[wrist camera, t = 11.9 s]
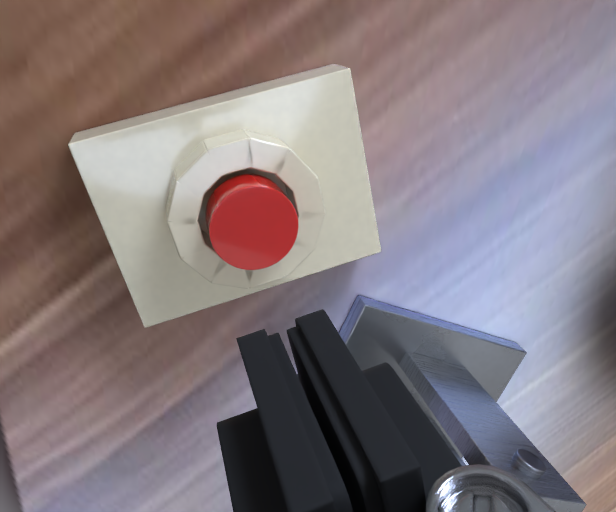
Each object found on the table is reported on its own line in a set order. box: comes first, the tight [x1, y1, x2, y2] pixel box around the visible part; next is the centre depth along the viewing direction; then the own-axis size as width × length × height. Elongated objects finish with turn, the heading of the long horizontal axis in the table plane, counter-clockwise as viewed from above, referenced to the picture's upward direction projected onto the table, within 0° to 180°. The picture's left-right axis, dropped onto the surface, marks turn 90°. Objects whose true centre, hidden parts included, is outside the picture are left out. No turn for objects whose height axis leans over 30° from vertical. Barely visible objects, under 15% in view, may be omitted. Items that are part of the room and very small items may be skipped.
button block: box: [68, 64, 381, 328], centre depth 25 cm, size 12×9×4 cm
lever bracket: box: [339, 295, 586, 512], centre depth 29 cm, size 12×9×12 cm
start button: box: [205, 174, 299, 270], centre depth 23 cm, size 4×4×2 cm
